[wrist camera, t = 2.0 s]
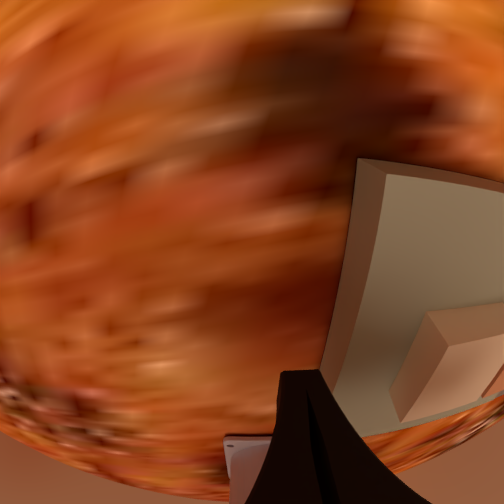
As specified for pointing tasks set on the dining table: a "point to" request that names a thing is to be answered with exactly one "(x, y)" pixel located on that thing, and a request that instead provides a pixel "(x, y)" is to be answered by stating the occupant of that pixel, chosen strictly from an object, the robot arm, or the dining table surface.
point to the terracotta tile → (495, 384)
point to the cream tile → (449, 361)
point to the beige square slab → (407, 278)
